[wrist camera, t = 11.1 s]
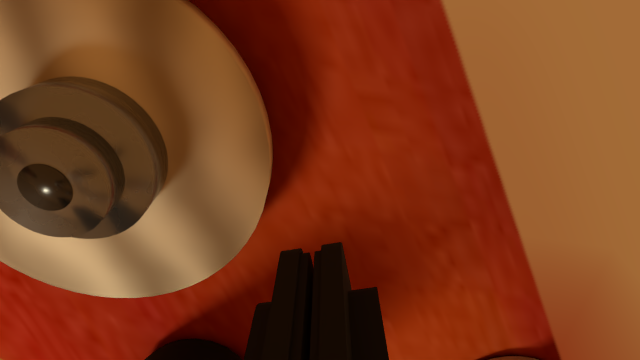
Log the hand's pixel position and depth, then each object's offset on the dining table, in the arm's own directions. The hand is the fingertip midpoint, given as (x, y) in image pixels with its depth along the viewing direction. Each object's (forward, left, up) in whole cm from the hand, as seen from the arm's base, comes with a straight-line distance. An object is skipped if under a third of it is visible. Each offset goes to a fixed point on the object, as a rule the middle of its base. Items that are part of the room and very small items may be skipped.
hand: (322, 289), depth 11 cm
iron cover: (+14, -1, -14) cm, 19 cm away
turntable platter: (+14, -1, -16) cm, 21 cm away
